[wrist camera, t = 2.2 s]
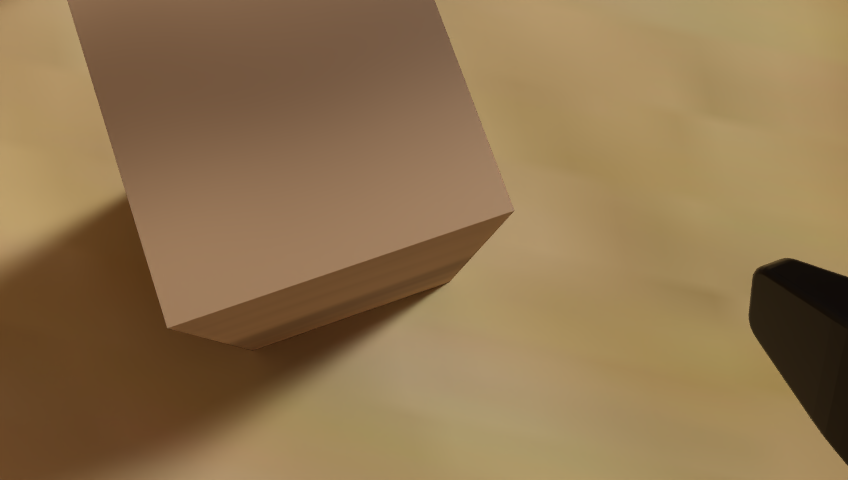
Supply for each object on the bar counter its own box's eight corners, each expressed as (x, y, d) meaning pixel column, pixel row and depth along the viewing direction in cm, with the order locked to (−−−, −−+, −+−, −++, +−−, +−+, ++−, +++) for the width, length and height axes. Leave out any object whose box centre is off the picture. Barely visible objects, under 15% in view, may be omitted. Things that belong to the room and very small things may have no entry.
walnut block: (449, 282, 21) (514, 210, 12) (252, 350, 20) (167, 328, 11) (382, 98, 22) (397, -97, 13) (191, 157, 21) (65, -6, 12)
